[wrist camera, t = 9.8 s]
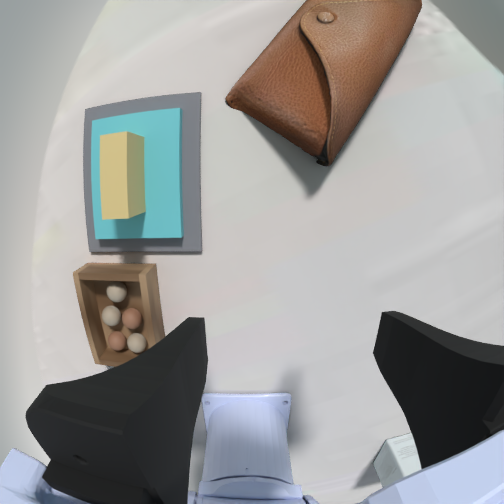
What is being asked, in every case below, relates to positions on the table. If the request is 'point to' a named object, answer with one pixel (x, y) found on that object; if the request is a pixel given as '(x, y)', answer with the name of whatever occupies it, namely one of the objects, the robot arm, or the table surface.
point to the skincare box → (397, 459)
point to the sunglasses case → (324, 70)
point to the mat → (189, 173)
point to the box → (119, 309)
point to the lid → (137, 175)
